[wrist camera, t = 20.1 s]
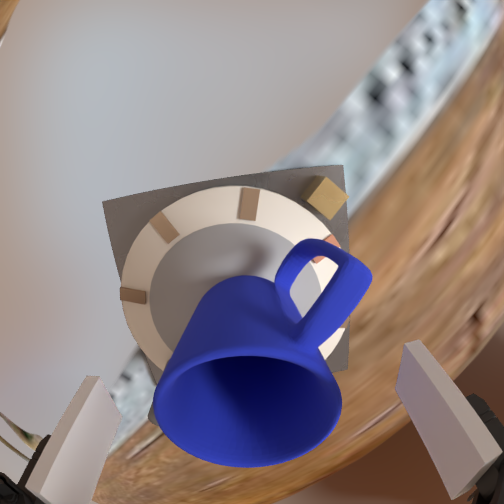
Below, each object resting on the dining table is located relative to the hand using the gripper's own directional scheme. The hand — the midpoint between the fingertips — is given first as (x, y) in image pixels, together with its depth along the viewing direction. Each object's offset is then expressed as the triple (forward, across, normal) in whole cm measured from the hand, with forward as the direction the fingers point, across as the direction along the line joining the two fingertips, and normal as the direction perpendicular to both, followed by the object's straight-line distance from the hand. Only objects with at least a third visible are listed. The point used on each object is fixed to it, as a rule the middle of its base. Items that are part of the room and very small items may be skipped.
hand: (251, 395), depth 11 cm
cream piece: (+12, -1, -1) cm, 12 cm away
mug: (+10, +1, 0) cm, 10 cm away
